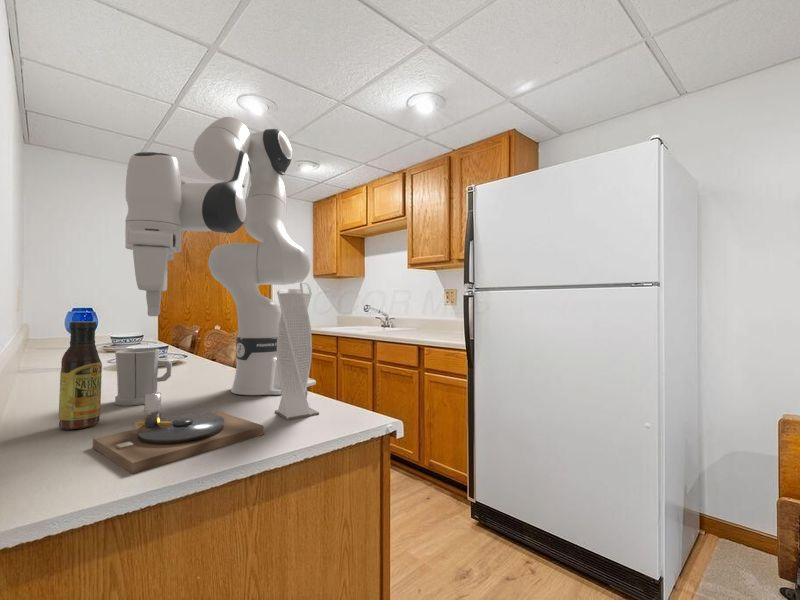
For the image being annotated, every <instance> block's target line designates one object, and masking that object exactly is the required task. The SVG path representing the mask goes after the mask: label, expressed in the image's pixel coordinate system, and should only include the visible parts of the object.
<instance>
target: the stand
mask: <svg viewBox="0 0 800 600" xmlns="http://www.w3.org/2000/svg"><path fill="white" fill-rule="evenodd" d="M204 414H214V415H218V416H221V417H223V418H224V427H223V429H222V430H220V431H219V432H217V433H215V434H213V435H210V436H207V437H204V438H200V439H196V440H191V441H186V442H178V443H165V444H157V443H147V442H143V441H141V440H139V439H138V429H139V428H140V427H138V428H135V429H129V430H125V431H120V432H117V433H112V434H108V435H101V436H98V437H95V438H92V449H94V450H96V451H97V452H99V453H100V454H102V455H103V456H104V457H106V458H108V459H109V460H110V461H113V462H114V463H116V464H117V465H119V466H120V467H122V468H123V469H125V470H127V471H128V472H129V473H131V474H133V475H134V474H136V473H139V472H142V471H146V470H149V469H152V468H156V467H158V466H159V467H160V466H162V465H166V464H170V463H173V462H176V461H178V460H182V459H186V458H190V457H193V456H195V455H200V454H202V453H205V452H209V451H212V450H216V449H219V448H222V447H225V446H228V445H232V444H235V443H239V442H243V441H245V440H249V439H253V438H256V437H258V436H262V435H264V434H265V426H264V425H262V424H260V423H258V422H257V423H256V422H252V421H250V420H247V419H244V418H240V417H237V416H235V415H231V414H229V413H225V412H222V411H219V410H215V411H209V412H206V413H204Z"/></svg>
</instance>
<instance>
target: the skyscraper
mask: <svg viewBox="0 0 800 600" xmlns="http://www.w3.org/2000/svg"><path fill="white" fill-rule="evenodd" d="M303 284H304V285H306V286H307V289H308V293H304V289H303V288H304V287H303ZM311 290H312V289H311V286H310V285H309V284H308V282H307V281H305V280H304V281H302V282H299V288H292V289H291V288H288V289H283V288H281V289H278V290H277V291H276V294H277V297H278V304H279V306H280V308H281V312H282V313H281V317H280V322H279V328H278V336H277V364H278V374H279V381H280V387H281V393H282V394H281V398H280V402H279V405H278V407H277V408H278V409H276V410H275V409H274V413H275V414H277V415H278V416H280V417H282V418H283V419H284V420H286V421H290V420H295V419H301V418H309V417H313V416H318V415H320V412H319V411H318V410H316V409H313V408H311V407H310V406H309V402H308V392H309V391H308V387H307V383H308V378H310V377H309V376H310V370H311V365H312V364H311V363H312V354H313V353H312V352H313V337H312V327H311V326H312V325H311V321H310V316H309V311H308V309H309V305H310V302H311V297H312V294H313V293H312V291H311ZM282 292H283V293H282Z"/></svg>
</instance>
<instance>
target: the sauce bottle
mask: <svg viewBox="0 0 800 600" xmlns="http://www.w3.org/2000/svg"><path fill="white" fill-rule="evenodd" d="M96 329H97V321H92V320H91V321H88V320H87V321H80V320H79V321H77V320H76V321H70V322H69V331H70V341H69V347H68V349H66V351H65V352H64V354H63V356H62V358H61V363H60V364H61V366H60V367H61V369H60V376H59V377H60V379H59V401H58V402H59V403H58V420H59V423H58V427H59V428H60V429H61V430H71V431H72V430H79V429H85V428H90V427H93V426H94V425H96V424H98V423H99V421H100V416H101V399H102V398H101V397H102V369H103V364H102V361H101V358H100V355H99V352H98V349H97V346H96V339H95V338H96Z"/></svg>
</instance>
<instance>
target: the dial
mask: <svg viewBox="0 0 800 600" xmlns="http://www.w3.org/2000/svg"><path fill="white" fill-rule="evenodd" d="M143 419H144V421H142V420H141V421H136V422H134V423H133V426H135V427H138V426H140V427H138V428H139V429H138V428H137V429H138V439H139V440H141V441H143V442H147V443H157V444H165V443H178V442H186V441H191V440H196V439H200V438H204V437H207V436H210V435H213V434H215V433H217V432H219V431H220V430H222V429H223V427H224V418H223V417H221V416H218V415H214V414H205V413H185V414H179V415H178V414H177V415H172V416H166V417H163V418H162V393H161V392H159V393H148V394H145V404H144V418H143Z"/></svg>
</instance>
